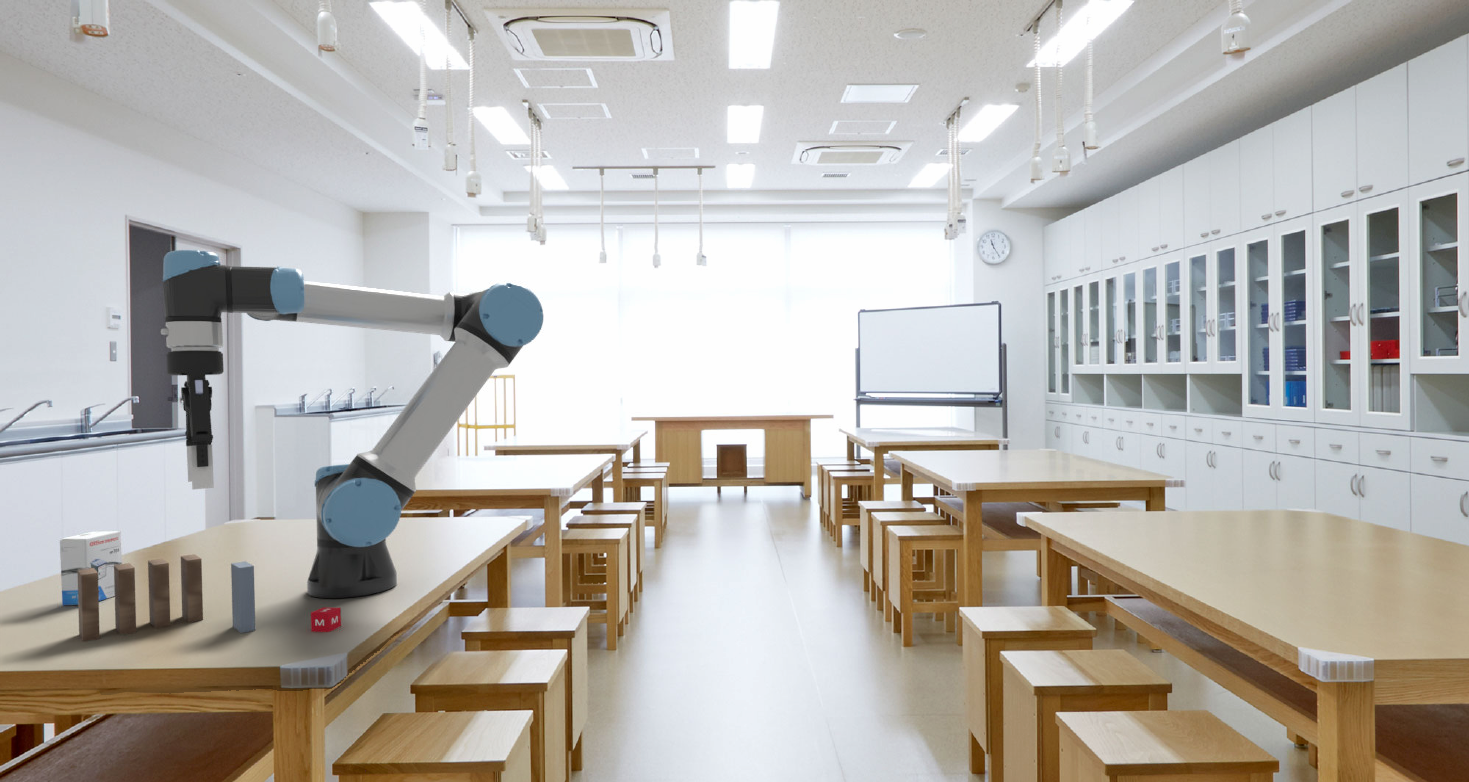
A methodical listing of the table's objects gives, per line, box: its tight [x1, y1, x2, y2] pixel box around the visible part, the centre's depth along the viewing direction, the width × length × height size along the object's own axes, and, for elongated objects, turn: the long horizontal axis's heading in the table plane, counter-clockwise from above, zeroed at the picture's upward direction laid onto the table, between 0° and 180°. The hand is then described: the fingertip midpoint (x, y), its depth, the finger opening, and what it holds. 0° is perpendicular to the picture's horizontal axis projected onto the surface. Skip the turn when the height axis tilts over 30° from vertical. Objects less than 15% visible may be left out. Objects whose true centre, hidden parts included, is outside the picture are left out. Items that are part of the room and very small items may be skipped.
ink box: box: [59, 530, 123, 606], centre depth 151 cm, size 9×5×12 cm, turn 178°
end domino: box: [77, 568, 101, 642], centre depth 128 cm, size 2×5×10 cm, turn 43°
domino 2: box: [147, 558, 171, 629], centre depth 134 cm, size 2×5×10 cm, turn 43°
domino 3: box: [180, 554, 204, 623], centre depth 137 cm, size 2×5×10 cm, turn 43°
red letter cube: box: [310, 606, 342, 633], centre depth 130 cm, size 3×3×3 cm
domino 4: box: [230, 560, 256, 634], centre depth 131 cm, size 2×5×10 cm, turn 43°
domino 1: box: [114, 562, 137, 635], centre depth 131 cm, size 2×5×10 cm, turn 43°
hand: (200, 484), depth 132 cm, fingers open, 13 cm apart
